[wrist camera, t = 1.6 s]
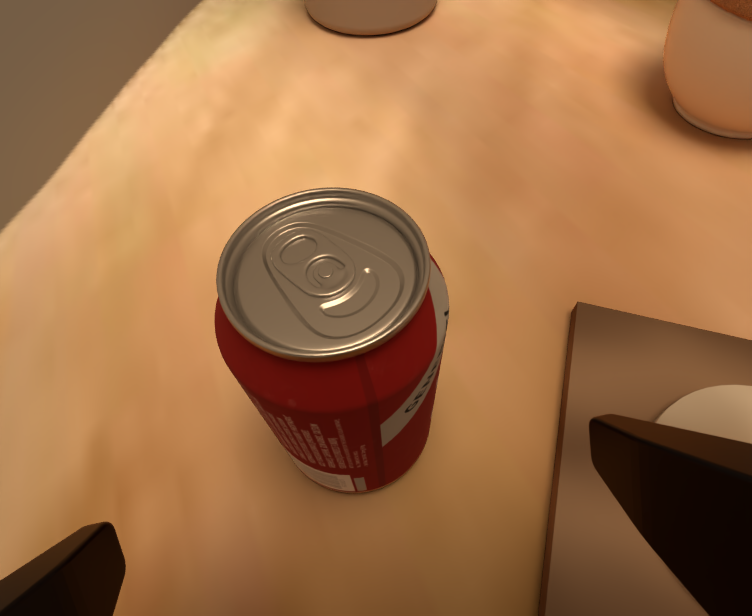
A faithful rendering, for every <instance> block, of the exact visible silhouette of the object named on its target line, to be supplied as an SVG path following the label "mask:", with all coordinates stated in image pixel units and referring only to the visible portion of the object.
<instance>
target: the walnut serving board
mask: <svg viewBox="0 0 752 616" xmlns="http://www.w3.org/2000/svg"><path fill="white" fill-rule="evenodd" d="M605 414H617V415H621V416H626V417H630V418H635V419H640V420H644V421H649V422H654V423H658V424H663V425H668V426H672V427H677V428H682V429H686V430H691V431H696V432H700V433H705V434H709V435H714V436H719V437H723V438H728V439H733V440H737V441H742V442H747V443H751V444H752V340H747V339H743V338H738V337H734V336H729V335H725V334H720V333H716V332H712V331H707V330H703V329H698V328H694V327H689V326H685V325H680V324H676V323H671V322H667V321H662V320H658V319H653V318H649V317H645V316H640V315H636V314H631V313H627V312H622V311H618V310H613V309H609V308H604V307H600V306H595V305H591V304H586V303H582V302H577V304H576V305H575V307H574V309H573V310H572V313H571V322H570V331H569V340H568V349H567V358H566V367H565V376H564V385H563V394H562V403H561V412H560V421H559V430H558V439H557V448H556V457H555V466H554V475H553V484H552V493H551V502H550V511H549V520H548V529H547V539H546V548H545V557H544V566H543V575H542V584H541V593H540V602H539V611H538V616H709V615H708V614H707V612H706V611H705V610H704V609H703V608H702V607H701V605H700V604H699V603H698V602H697V601H696V600H695V598H694V597H693V596H692V595H691V594H690V592H689V591H688V590H687V589H686V588H685V587H684V585H683V584H682V583H681V582H680V581H679V580H678V578H677V577H676V576H675V575H674V574H673V572H672V571H671V570H670V569H669V568H668V567H667V565H666V564H665V563H664V562H663V561H662V560H661V558H660V557H659V556H658V555H657V554H656V552H655V551H654V550H653V549H652V548H651V546H650V545H649V544H648V543H647V542H646V540H645V539H644V538H643V537H642V535H641V534H640V533H639V531H638V530H637V528H636V527H635V526H634V524H633V523H632V521H631V520H630V519H629V517H628V516H627V514H626V513H625V511H624V510H623V508H622V507H621V506H620V504H619V503H618V501H617V500H616V498H615V497H614V496H613V494H612V493H611V491H610V490H609V488H608V487H607V485H606V484H605V483H604V481H603V480H602V478H601V477H600V475H599V474H598V472H597V471H596V469H595V468H594V465H593V463H592V459H591V452H590V438H589V421H590V420H591V418H593V417H596V416H600V415H605Z"/></svg>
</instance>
